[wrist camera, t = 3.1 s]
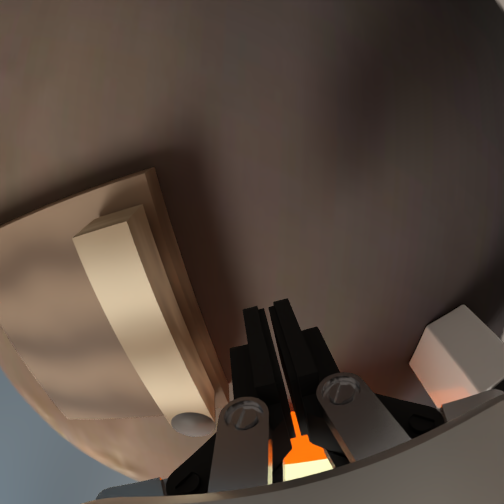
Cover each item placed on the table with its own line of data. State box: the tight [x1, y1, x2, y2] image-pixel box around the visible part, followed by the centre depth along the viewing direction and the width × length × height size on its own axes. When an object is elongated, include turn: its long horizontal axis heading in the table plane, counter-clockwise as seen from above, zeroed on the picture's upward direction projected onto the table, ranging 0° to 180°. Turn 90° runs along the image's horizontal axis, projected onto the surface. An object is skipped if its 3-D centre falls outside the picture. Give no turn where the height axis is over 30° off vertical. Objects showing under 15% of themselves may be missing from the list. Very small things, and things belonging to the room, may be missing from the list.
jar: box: [409, 304, 504, 408], centre depth 20 cm, size 9×8×12 cm
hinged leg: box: [72, 204, 216, 437], centre depth 17 cm, size 16×3×3 cm, turn 13°
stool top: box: [0, 167, 229, 419], centre depth 20 cm, size 18×16×2 cm
